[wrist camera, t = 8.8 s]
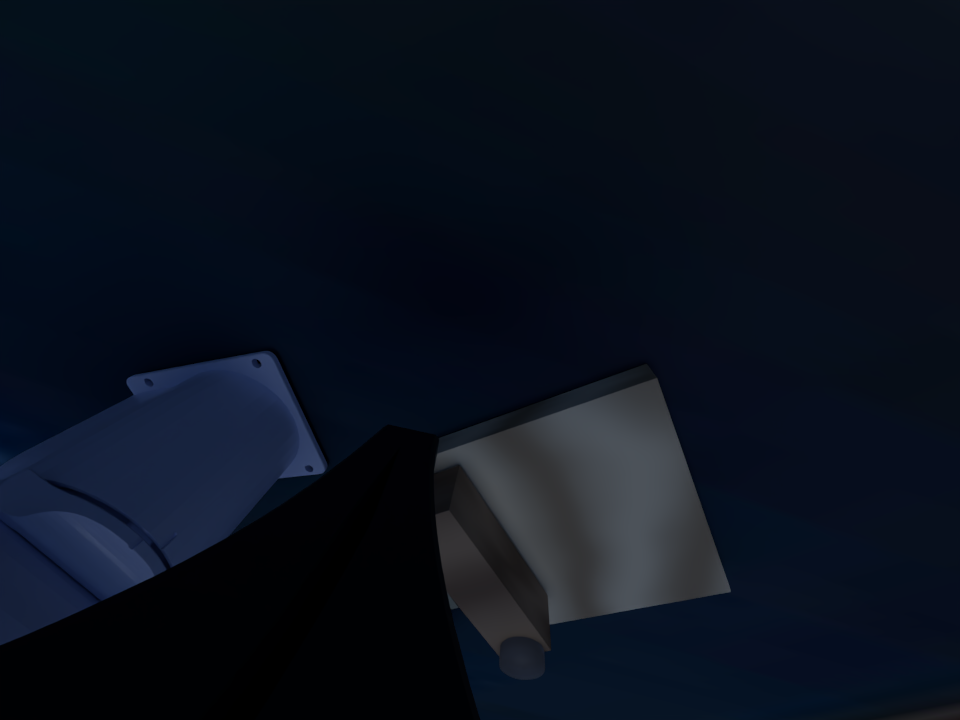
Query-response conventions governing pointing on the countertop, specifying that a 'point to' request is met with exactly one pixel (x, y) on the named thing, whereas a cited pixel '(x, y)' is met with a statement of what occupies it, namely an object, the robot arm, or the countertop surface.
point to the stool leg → (490, 577)
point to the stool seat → (594, 497)
